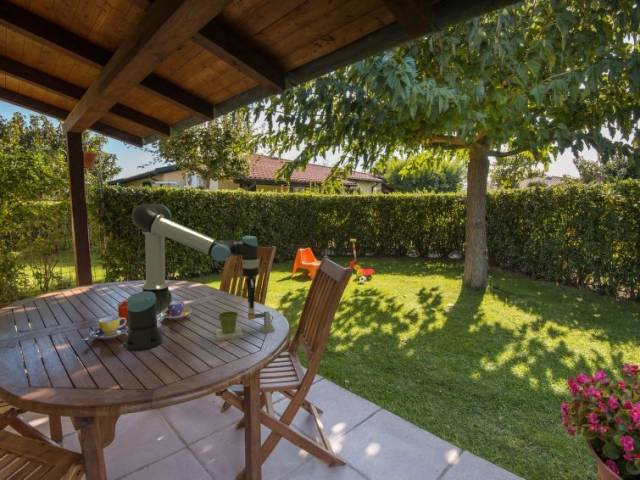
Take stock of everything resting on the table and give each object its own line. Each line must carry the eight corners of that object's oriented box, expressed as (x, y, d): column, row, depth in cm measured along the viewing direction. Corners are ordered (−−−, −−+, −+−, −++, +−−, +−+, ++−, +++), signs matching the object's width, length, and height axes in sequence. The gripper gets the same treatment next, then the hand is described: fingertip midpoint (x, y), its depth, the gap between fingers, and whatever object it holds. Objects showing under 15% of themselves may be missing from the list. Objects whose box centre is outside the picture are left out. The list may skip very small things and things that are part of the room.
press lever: (248, 320, 170) (248, 315, 170) (247, 317, 174) (247, 313, 174) (269, 317, 173) (269, 313, 173) (268, 315, 177) (268, 310, 177)
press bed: (217, 340, 162) (216, 337, 162) (216, 332, 173) (216, 329, 173) (242, 337, 166) (242, 334, 166) (240, 329, 177) (240, 326, 176)
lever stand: (262, 333, 171) (262, 315, 170) (260, 328, 178) (259, 311, 177) (274, 331, 173) (274, 314, 172) (271, 326, 180) (271, 310, 179)
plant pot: (233, 335, 165) (232, 317, 164) (215, 334, 167) (214, 316, 166) (241, 328, 174) (241, 311, 173) (224, 327, 176) (223, 310, 175)
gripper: (260, 269, 165) (261, 316, 167) (256, 264, 177) (257, 309, 179) (244, 270, 162) (245, 318, 165) (241, 265, 175) (242, 310, 177)
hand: (251, 313), depth 172 cm, fingers closed
